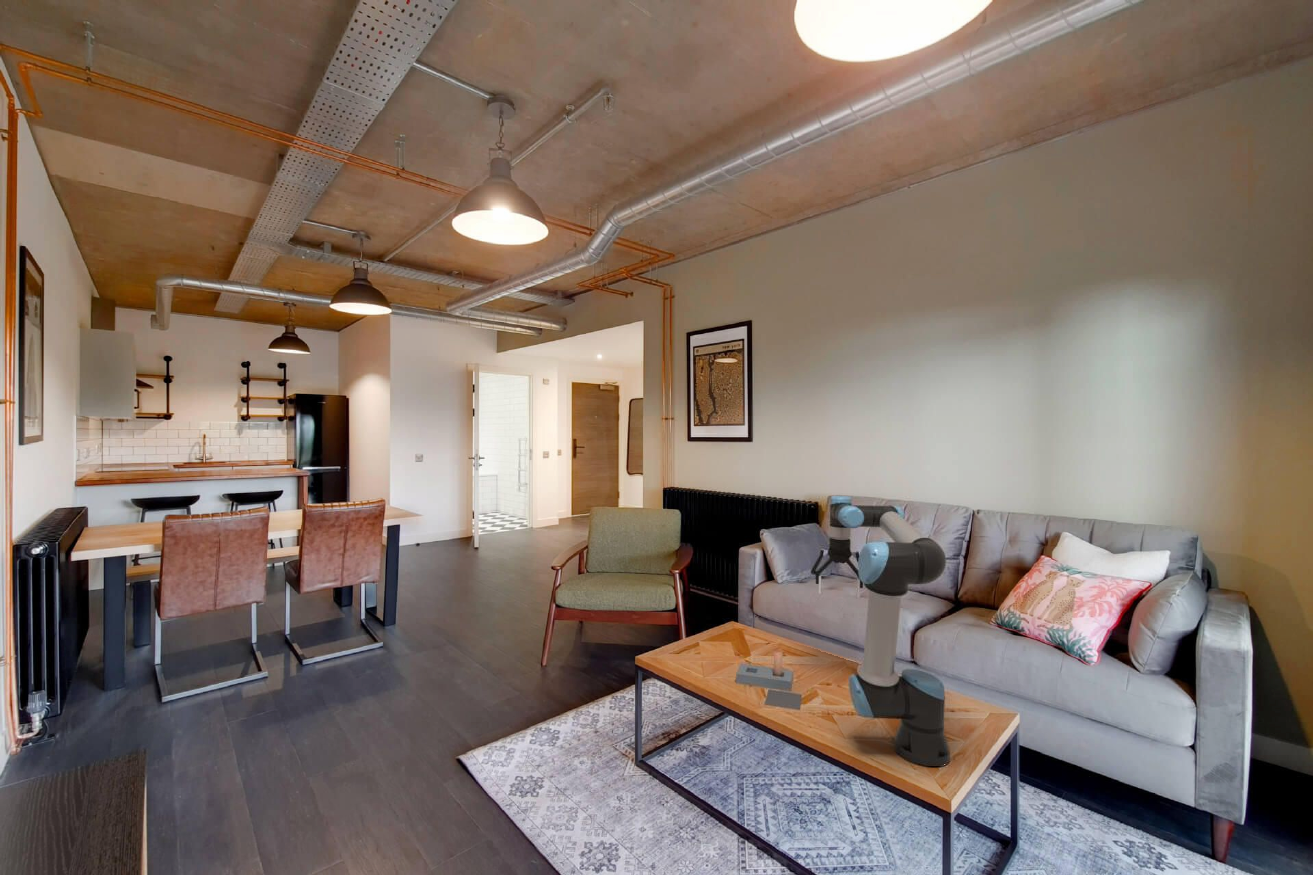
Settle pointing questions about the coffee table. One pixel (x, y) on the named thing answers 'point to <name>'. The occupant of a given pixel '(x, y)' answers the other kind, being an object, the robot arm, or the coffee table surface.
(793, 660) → the coffee table surface
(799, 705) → the mat
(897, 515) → the robot arm
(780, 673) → the peg
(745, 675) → the hole block
